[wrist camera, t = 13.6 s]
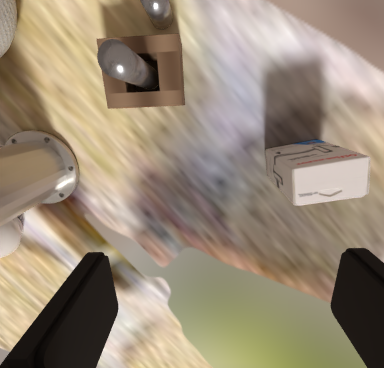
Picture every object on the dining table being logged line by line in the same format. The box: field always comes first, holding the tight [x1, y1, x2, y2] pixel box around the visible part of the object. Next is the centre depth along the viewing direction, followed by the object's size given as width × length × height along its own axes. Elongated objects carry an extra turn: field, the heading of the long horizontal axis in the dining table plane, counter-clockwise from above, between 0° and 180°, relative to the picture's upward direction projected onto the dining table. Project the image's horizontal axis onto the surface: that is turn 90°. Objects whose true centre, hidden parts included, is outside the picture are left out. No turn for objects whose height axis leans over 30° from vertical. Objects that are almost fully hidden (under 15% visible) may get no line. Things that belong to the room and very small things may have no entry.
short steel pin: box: [140, 0, 173, 29], centre depth 27 cm, size 3×3×6 cm
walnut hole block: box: [97, 34, 185, 108], centre depth 30 cm, size 10×8×5 cm
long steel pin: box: [97, 39, 159, 90], centre depth 26 cm, size 3×3×14 cm
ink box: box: [265, 139, 370, 206], centre depth 30 cm, size 9×5×12 cm, turn 101°
